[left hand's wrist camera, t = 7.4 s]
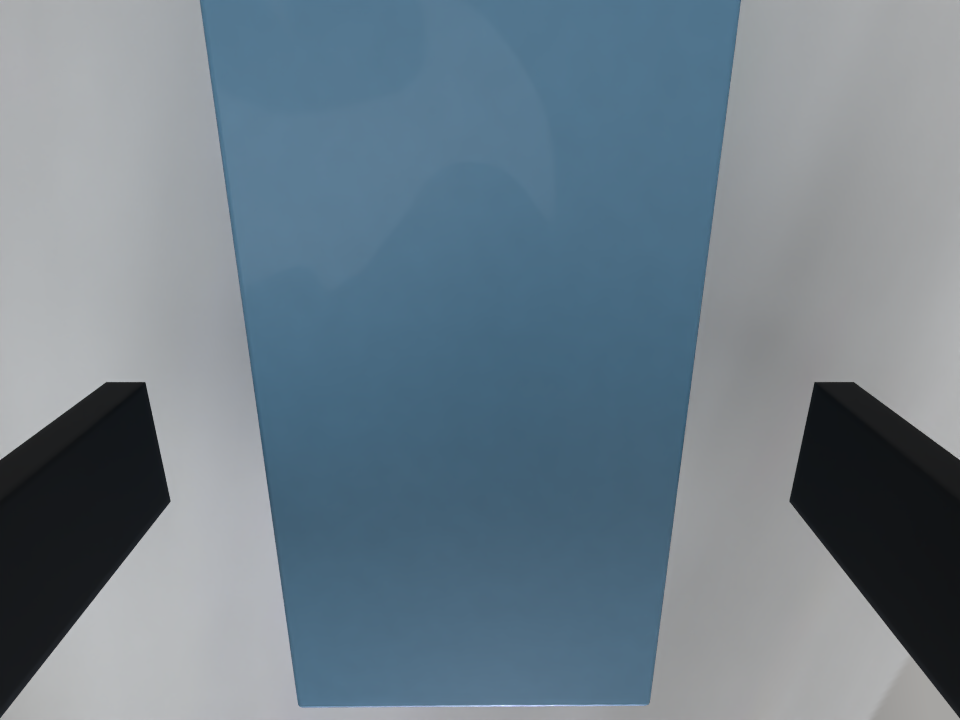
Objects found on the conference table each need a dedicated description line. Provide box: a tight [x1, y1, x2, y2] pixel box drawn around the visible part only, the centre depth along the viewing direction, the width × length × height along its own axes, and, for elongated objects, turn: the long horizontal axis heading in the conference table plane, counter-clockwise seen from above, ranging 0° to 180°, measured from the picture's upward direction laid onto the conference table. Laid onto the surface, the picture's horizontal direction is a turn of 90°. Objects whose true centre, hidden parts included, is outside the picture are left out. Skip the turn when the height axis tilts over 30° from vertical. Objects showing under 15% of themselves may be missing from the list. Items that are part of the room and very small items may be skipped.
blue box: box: [200, 0, 741, 708], centre depth 13 cm, size 16×7×9 cm, turn 0°
